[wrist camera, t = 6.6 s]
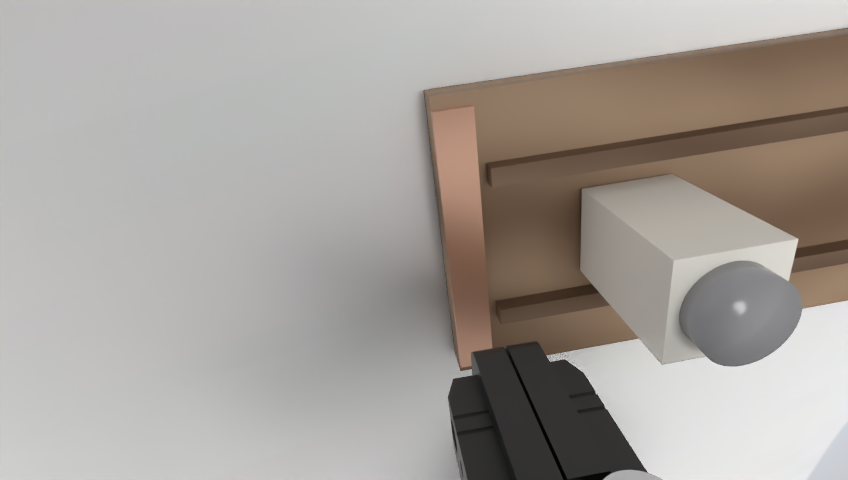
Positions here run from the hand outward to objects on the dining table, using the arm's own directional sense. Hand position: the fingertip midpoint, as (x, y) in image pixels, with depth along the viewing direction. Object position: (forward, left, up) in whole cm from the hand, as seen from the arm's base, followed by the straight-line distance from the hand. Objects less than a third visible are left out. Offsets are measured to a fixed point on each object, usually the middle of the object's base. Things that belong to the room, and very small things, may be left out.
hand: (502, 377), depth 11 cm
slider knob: (0, +6, -6) cm, 8 cm away
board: (0, +9, -7) cm, 11 cm away
